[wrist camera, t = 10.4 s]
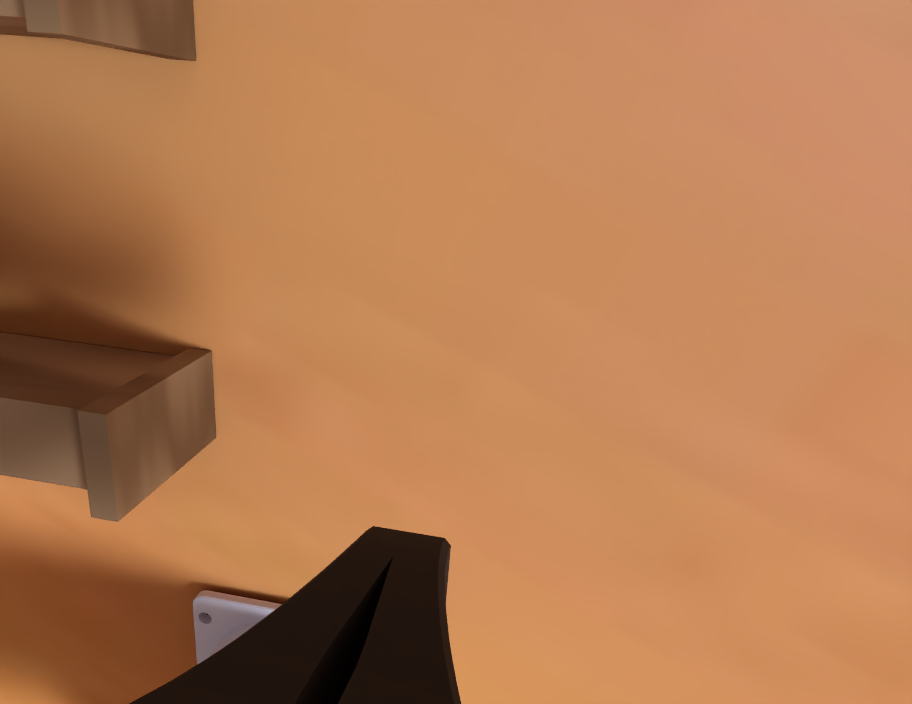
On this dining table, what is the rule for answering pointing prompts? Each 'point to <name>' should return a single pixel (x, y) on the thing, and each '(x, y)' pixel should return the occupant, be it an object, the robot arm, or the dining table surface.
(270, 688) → the robot arm
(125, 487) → the housing
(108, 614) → the dining table surface
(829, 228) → the dining table surface
